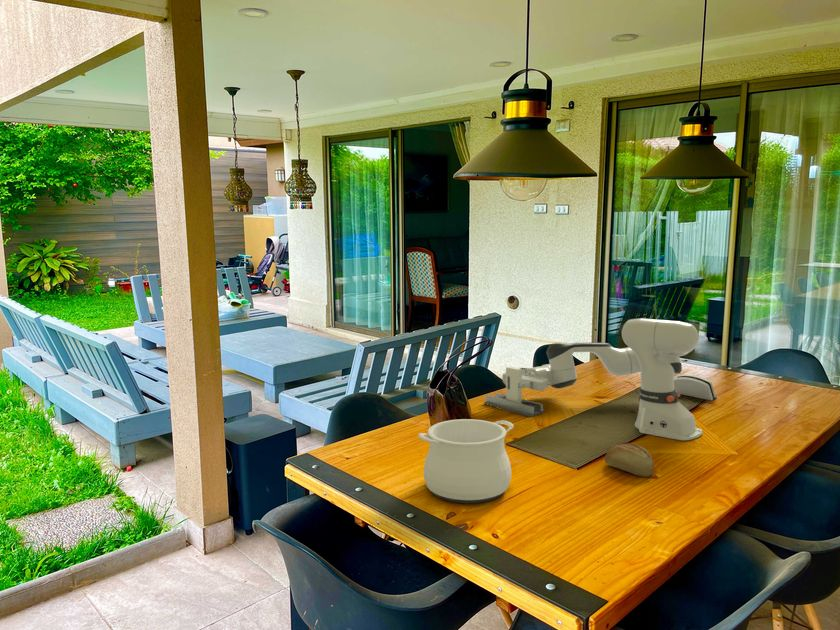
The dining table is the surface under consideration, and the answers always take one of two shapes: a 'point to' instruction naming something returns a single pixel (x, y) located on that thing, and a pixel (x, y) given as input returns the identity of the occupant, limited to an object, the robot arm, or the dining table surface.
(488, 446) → the pot
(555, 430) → the dining table surface
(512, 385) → the white rectangular block
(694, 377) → the white curved block
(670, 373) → the robot arm
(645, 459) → the bread roll
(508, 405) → the track
